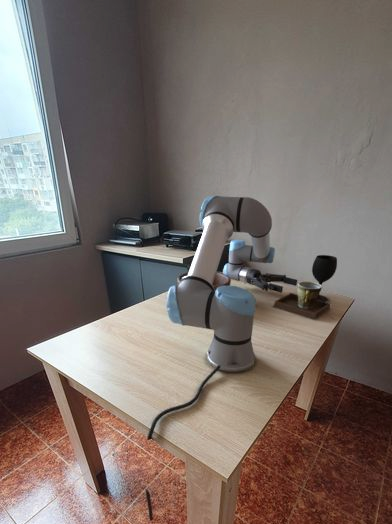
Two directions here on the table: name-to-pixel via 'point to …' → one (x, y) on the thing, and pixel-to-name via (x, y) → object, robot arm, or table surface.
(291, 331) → the table surface
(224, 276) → the wooden bowl
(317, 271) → the wine glass
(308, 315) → the tray
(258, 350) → the table surface
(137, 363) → the table surface
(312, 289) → the ceramic cup
